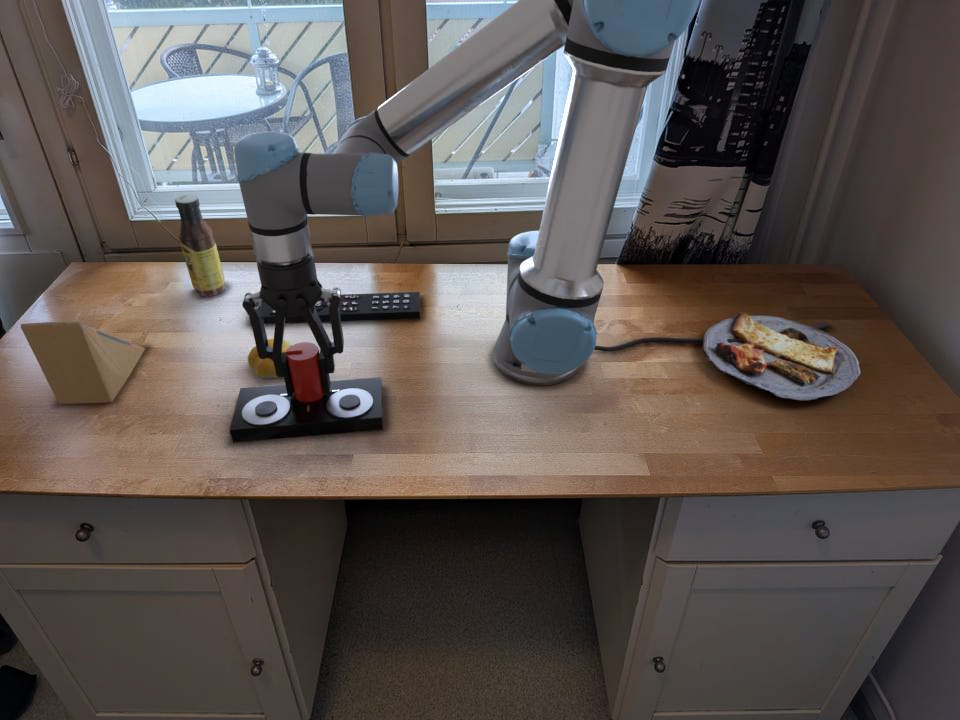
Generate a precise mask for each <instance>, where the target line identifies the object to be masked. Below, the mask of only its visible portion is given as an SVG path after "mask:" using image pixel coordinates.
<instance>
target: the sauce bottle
mask: <svg viewBox="0 0 960 720" xmlns="http://www.w3.org/2000/svg"><path fill="white" fill-rule="evenodd" d="M174 203H175V207H176V208H177V211H178V214H179V218H180V230H179V236H178V237H179V238H178V240H179V243H180V247H181V251H182V254H183V258H184V262H185V265H186V268H187V271H188V275H189V279H190V282H191V285H192V288H193V290H194V292H195V293H196V294H197V295H198V296H200V297H212V296H217V295H219V294H221V293H223V292H224V290H225V289H226V280H225V279H226V278H225V274H224V271H223V266H222V263H221V262H222V261H221V257H220V255H219V250H218V246H217V243H216V240H215V238H214V237H215V236H214V232H213V230H212V227H211V226H210V224H208V223H207V222H206V221H205V220H204V219H203V215H202V212H201V209H200V200H199V197H198V196H197V195H196V194H183V195H179V196H178V197H176V198H175V199H174Z"/></svg>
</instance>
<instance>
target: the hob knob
mask: <svg viewBox="0 0 960 720" xmlns="http://www.w3.org/2000/svg"><path fill="white" fill-rule="evenodd" d="M291 345H292V344H291ZM319 355H320V348H319V345H318V344H315V343H313V342H309V341H307V342H306V341H303V342H298V343H295V344H293V345H292V346H291V347H289V348H288V349H287V350H286V357H287V362H288V367H289V372H290V377H291V382H292V387H293V391H294V396H295V398H296V399H297V400H298V401H300V402H304V403H310V402H315V401H317V400H319V399H321V398H322V397H323V396H324V395H325V392H324V386H323V380H322V374H321V368H320V363H319Z"/></svg>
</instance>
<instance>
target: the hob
mask: <svg viewBox="0 0 960 720" xmlns="http://www.w3.org/2000/svg"><path fill="white" fill-rule="evenodd" d="M330 382H331V384H330V394H325V395H324V396H323V397H322V398H321V399H319V400H317V401H315V402H310V403H304V402H300V401H298V400H297V399H296V398H295V396H294V393H293V397H288V395H287V390H286V385H285V384H275V385H263V386H250V387H249V386H248V387H240V388H239V391H238V395H237V398H236V404H235V407H234V411H233V415H232V418H231V422H230V426H229V430H228V431H229V434H230V437H231V440H232V443H234V444H235V443H245V442H246V443H247V442H259V441H270V440H281V439H282V440H283V439H292V438H293V439H294V438H304V437H316V436H317V437H318V436H326V435H339V434H341V435H342V434H351V433H362V432H374V431H376V432H377V431H384V407H383V402H384V401H383V383H382V377H367V378H366V377H365V378H354V379H353V378H352V379H341V380H340V379H339V380H330ZM350 388H357V389H362V390H365V391H367V392H368V393H369V394H370V395H371V396H372V398H373V405H372V407H371V409H370V410H369V411H368V412H367V413H365V414H364V415H362V416H359V417H356V418H351V419H342V418H337V417H335V416H333V415H331V414H330V413H329V412H328V410H327V406H326V404H327V401H328V399H329V398H330V397H331V396H332V395H333V394H334V393H336V392H338V391H341V390H344V389H350ZM264 395H279V396H283V397H285V398H286V399H287V400H288V401H289V403H290V411H289V413H288V415H287V416H286V417H285V418H283V419H282V420H281V421H279V422H277V423H274V424H271V425H266V426H255V425H251V424H249V423H247V422H246V421H245V420H244V419H243V417H242V410H243V408H244V407H245V405H246V404H247V403H248V402H250V401H251V400H253V399H255V398H257V397H260V396H264Z"/></svg>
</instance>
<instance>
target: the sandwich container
mask: <svg viewBox="0 0 960 720" xmlns="http://www.w3.org/2000/svg"><path fill="white" fill-rule="evenodd" d="M20 329H21V332H22V333H23V335H24V337H25V339H26V341H27V344H28V345H29V347H30V349H31V351H32V353H33V355H34V357H35V360H36V361H37V363H38V365H39V367H40V369H41V372H42V373H43V376H44V377H45V379H46V381H47V383H48V385H49V387H50V389H51V391H52V393H53V395H54V397H55V399H56V400H57V402H58V404H59V405H75V404H104V403H105V404H106V403H112V402H113V401H114V400H115V398H116V397H117V395H118V394H119V392H121V389H122V388H123V386H124V385H125V383H126V382H127V381H128V379H129V377H130V375H131V374H132V372H133V371H134V369H135V367H136V366H137V364H138V362H139V360H140V359H141V357H142V355H143V354H144V352H145V350H146V348H145V347H143V346H140V345H138V344H135V343H131V342H129V341H127V340H124V339H121V338H119V337H115V336H113V335H111V334H108V333H105V332H103V331H101V330H98V329H96V328H94V327H92V326H89V325H87V324H84V323H82V322H79V321H44V322H27V323H21V324H20Z"/></svg>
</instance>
